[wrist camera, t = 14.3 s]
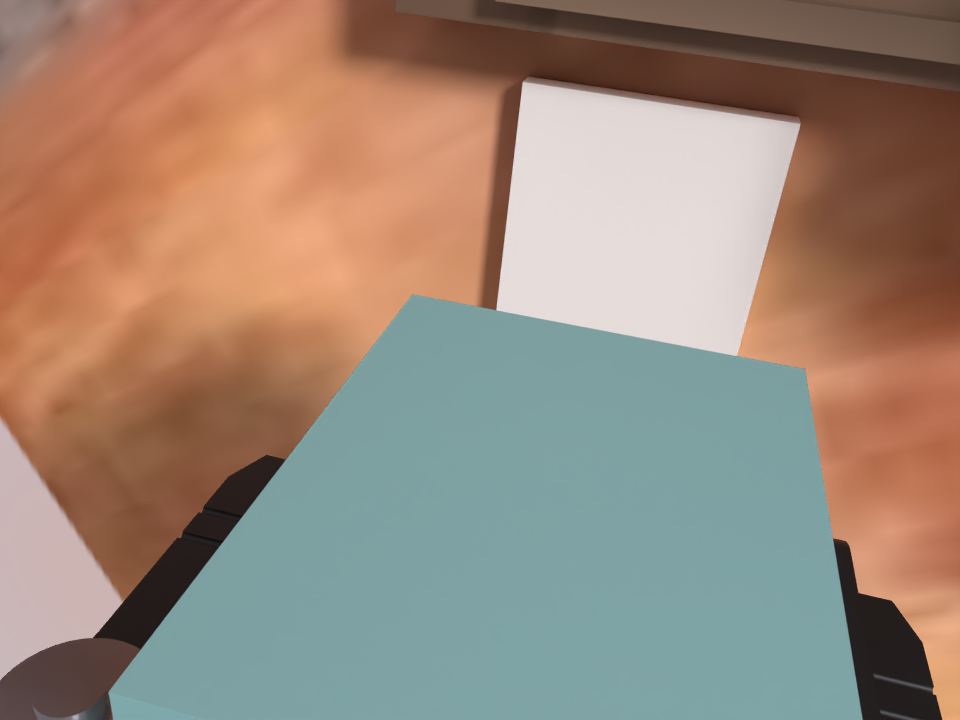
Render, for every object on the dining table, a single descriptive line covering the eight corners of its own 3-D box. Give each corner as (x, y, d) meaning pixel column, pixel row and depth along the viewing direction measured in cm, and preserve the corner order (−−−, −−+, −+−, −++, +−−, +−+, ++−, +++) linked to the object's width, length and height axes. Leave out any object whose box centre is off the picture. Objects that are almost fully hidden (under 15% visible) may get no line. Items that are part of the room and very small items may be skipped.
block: (395, 578, 13) (169, 1055, 8) (412, 294, 10) (108, 692, 5) (714, 657, 12) (705, 1243, 7) (804, 370, 10) (894, 916, 5)
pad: (528, 76, 18) (522, 82, 18) (798, 116, 18) (800, 124, 17) (500, 311, 21) (494, 321, 21) (733, 356, 20) (733, 368, 20)
